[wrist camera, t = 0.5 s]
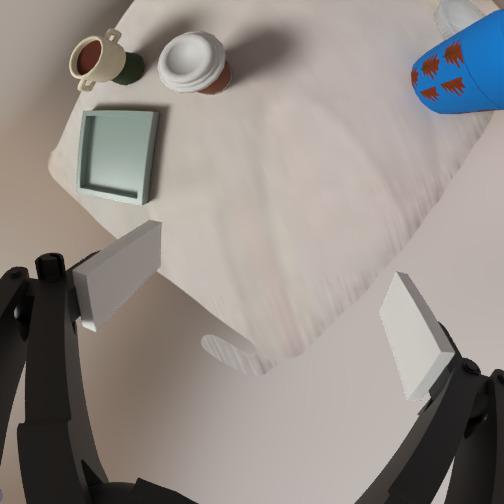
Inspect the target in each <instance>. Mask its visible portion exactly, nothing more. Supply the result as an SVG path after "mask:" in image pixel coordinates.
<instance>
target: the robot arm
mask: <svg viewBox="0 0 504 504" xmlns="http://www.w3.org/2000/svg"><path fill="white" fill-rule="evenodd" d="M161 226H162V222H158V221H153V220H149V221H147V222H146V223H144V224H142V225H141V226H139V227H137V228H136V229H134V230H133V231H131V232H129V233H128V234H126V235H125V236H123V237H121V238H120V239H118V240H117V241H115V242H114V243H112V244H111V245H109V246H107V247H106V248H104V249H103V250H100V251H97V252H94V253H92V254H90V255H89V256H87V257H86V258H85V259H82V260H81V261H80V262H78V263H77V264H75V265H74V266H72V267H71V268H69V269H68V270H66V271H65V265H64V258H63V256H62V255H61V254H59V253H47V254H44V255H41V256H40V257H38V258H37V259H36V260H35V264H36V270H37V275H38V279H33V278H29V273H28V269H27V268H25V267H15V268H14V267H13V268H11V269H10V270H8V271H7V272H6V273H5V274H4V275H3V276H2V278H1V279H0V465H1V459H2V454H3V449H4V443H5V437H6V432H7V427H8V422H9V418H10V413H11V409H12V405H13V401H14V397H15V394H16V390H17V387H18V383H19V380H20V377H21V373H22V371H23V368H24V365H25V361H26V374H25V422H24V423H19V425H18V427H17V442H18V454H19V462H20V470H21V477H22V483H23V488H24V493H25V498H26V503H27V504H198V503H196V502H194V501H192V500H190V499H188V498H187V497H185V496H183V495H181V494H179V493H178V492H176V491H173V490H170V489H167V488H164V487H161V486H158V485H156V484H153V483H151V482H148V481H145V480H143V479H141V478H138V479H137V481H136V483H135V484H134V483H125V482H110V483H109V481H108V478H107V476H106V474H105V472H104V469H103V468H102V465H101V463H100V460H99V458H98V454H97V450H96V446H95V443H94V439H93V435H92V430H91V426H90V422H89V417H88V412H87V406H86V401H85V395H84V389H83V383H82V376H81V367H80V358H79V349H78V335H77V325H76V321H75V320H76V319H77V318H78V317H79V316H81V320H82V324H83V327H86V328H88V329H90V330H92V331H95V332H97V331H98V330H99V329H100V328H101V327H102V326H103V325H104V323H105V322H106V321H107V320H108V319H109V318H110V317H111V316H112V315H113V314H114V313H115V312H116V311H117V310H118V309H119V307H121V306H122V304H124V302H125V301H126V300H127V299H128V298H129V297H130V296H131V295H132V294H133V293H134V292H135V291H136V290H137V289H138V288H139V287H140V286H141V285H142V284H143V283H144V282H145V281H146V280H147V279H148V278H149V277H150V276H151V275H152V274H153V273H154V272H155V271H156V270H157V269H158V268H159V267H160V262H161ZM379 314H380V317H381V320H382V323H383V325H384V328H385V331H386V334H387V337H388V340H389V343H390V346H391V349H392V352H393V355H394V358H395V361H396V364H397V368H398V371H399V374H400V378H401V381H402V384H403V388H404V391H405V395H406V399H407V400H408V401H421V400H422V399H423V398H424V396H425V395H426V394H427V393H428V391H429V393H430V396H431V398H430V400H429V401H428V402H427V403H426V405H425V406H424V407H423V408H422V409H421V410H420V412H419V413H418V415H420V416H419V417H418V419H417V421H416V422H415V424H414V426H413V427H412V429H411V430H410V432H409V433H408V435H407V437H406V438H405V440H404V441H403V443H402V444H401V446H400V447H399V449H398V450H397V451H396V453H395V454H394V456H393V457H392V459H391V460H390V461H389V462H388V464H387V465H386V467H385V468H384V469H383V470H382V472H381V473H380V474H379V476H378V477H377V478H376V479H375V481H374V482H373V483H372V484H371V485H370V487H369V488H368V489H367V490H366V491H365V492H364V494H363V495H362V496H361V497H360V498H359V499H358V500H357V501H356V502H355V504H431V502H432V500H433V499H434V497H435V495H436V493H437V491H438V489H439V487H440V485H441V483H442V482H443V480H444V478H445V476H446V474H447V472H448V469H449V467H450V465H451V463H452V461H453V458H454V456H455V458H454V464H453V469H452V474H451V479H450V483H449V487H448V491H447V495H446V499H445V502H444V504H504V371H503V370H500V369H495V370H494V372H493V373H492V374H491V376H490V377H488V376H484V375H481V371H480V369H479V367H478V366H477V364H476V363H474V362H473V361H472V360H469V359H468V358H462V356H461V354H460V352H459V351H458V349H457V347H456V345H455V343H454V342H453V340H452V338H451V337H450V335H449V333H448V331H447V330H446V328H445V327H444V326H443V325H442V324H441V323H440V322H438V321H437V320H436V318H435V316H434V315H433V313H432V311H431V310H430V308H429V306H428V305H427V303H426V302H425V300H424V299H423V297H422V295H421V294H420V292H419V291H418V289H417V288H416V286H415V285H414V283H413V282H412V280H411V279H410V277H409V276H408V274H405V273H400V272H396V273H395V275H394V278H393V280H392V283H391V285H390V288H389V290H388V293H387V295H386V298H385V300H384V303H383V305H382V307H381V310H380V312H379ZM14 315H15V316H14ZM486 417H487V418H486ZM485 419H486V420H485ZM2 498H3V494H2V491H1V489H0V501H1V500H2Z"/></svg>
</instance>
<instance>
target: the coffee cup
mask: <svg viewBox="0 0 504 504" xmlns="http://www.w3.org/2000/svg"><path fill="white" fill-rule="evenodd" d="M225 58H226V54H225V51H224V48H223V45H222V43H221V42H220V41H219V40H218V39H217V38H216V37H215V36H214V35H212V34H209V33H206V32H203V31H193V32H187V33H184V34H182V35H179V36H177V37H175V38H174V39H173V40H172V41H170V42H169V43H168V44H167V45H166V46H165V48H164V49H163V51H162V53H161V55H160V57H159V63H158V71H159V75H160V79H161V80H162V82H163V83H164V84H165V85H166V86H167V87H168V88H170V89H172V90H175V91H177V92H179V93H194V92H199V93H203V94H206V95H215V94H218V93H221V92H222V91H224V90H225V89H226V88H227V87H228V86H229V84H230V82H231V80H232V71H231V68H230V66H229V65H228V63H227V61H226V59H225Z"/></svg>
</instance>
